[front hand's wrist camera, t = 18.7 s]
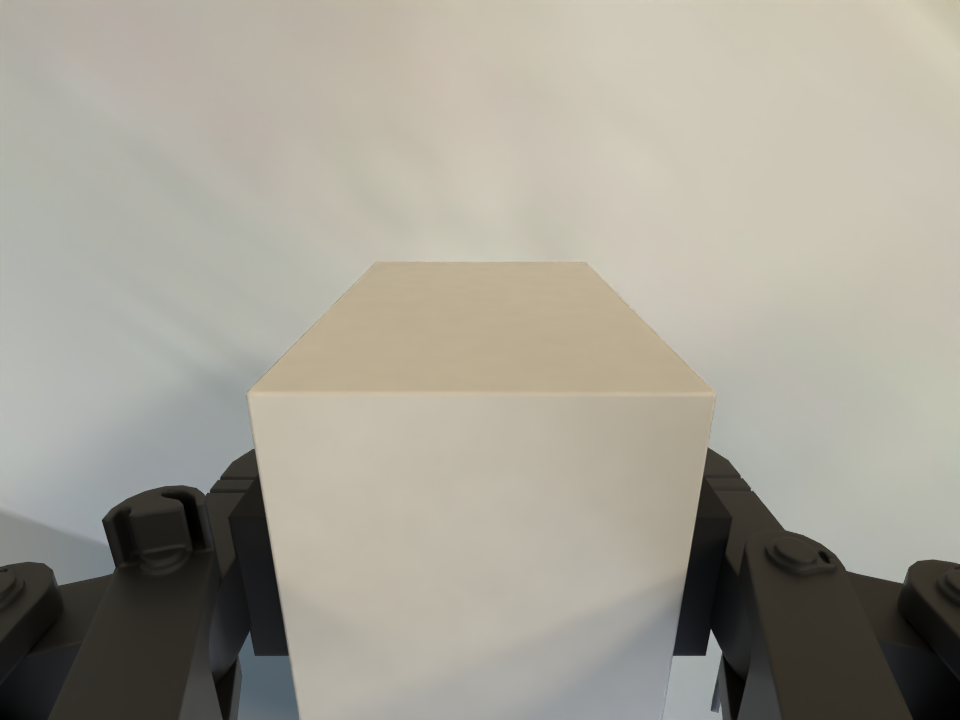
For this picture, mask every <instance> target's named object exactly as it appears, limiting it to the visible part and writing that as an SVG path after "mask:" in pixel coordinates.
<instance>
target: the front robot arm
mask: <svg viewBox="0 0 960 720" xmlns="http://www.w3.org/2000/svg"><path fill="white" fill-rule="evenodd" d="M102 522H103V526H104V529H105V533H106V536H107V539H108V543H109V546H110V550H111V553H112V556H113V560H114V563H115V567H116V568H115V570H114V573H113V574H110V575H106V576H103V577H98V578H93V579H89V580H84V581H79V582H74V583H70V584H65V585H61V586H58V584H57V582H56V579H55V576H54V573H53V570H52V569H51V568H49V567H48V566H47V565H45V564H43V563H34V562H24V563H17V564H11V565H6V566H2V567H0V720H237V717H238V708H239V699H240V690H241V682H242V673H241V666H240V661H239V656H238V654H239V652H240V650H241V648H242V645H243V643H244V641H245V639H246V637H247V635H248V633H249V631H250V633H251V638H252V643H253V648H254V653H255V656H289V653H288V646H287V640H286V634H285V628H284V622H283V616H282V610H281V604H280V598H279V592H278V586H277V580H276V574H275V568H274V562H273V556H272V550H271V544H270V537H269V531H268V525H267V519H266V513H265V507H264V501H263V495H262V489H261V483H260V477H259V471H258V465H257V459H256V453H255V449H252V450H251V451H249V452H248V453H246V454H244V455H243V456H241V457H240V458H238V459H237V460H235V461H233V462H232V463H231V465H230V466H229V467H228V468H227V470H226V471H225V472H224V473H223V475H222V476H221V477H220V480H218V481H217V482H216V483H215V484H214V486H213V487H212V488H211V489H210V493H207V494H206V496H205V495H204V494H203V493H202V492H201V491H199V490H198V489H197V488H193V487H188V486H183V485H181V486H165V487H161V488H156V489H152V490H148V491H145V492H142V493H140V494H137V495H135V496H133V497H130V498H128V499H126V500H125V501H123V502H121V503H120V504H118V505H117V506H115V507H114V508H112V509H111V510H110V511H109V512H108V514H107V515H106V516H105V517H104V518H103V519H102ZM710 630H712V632H713V634H714V636H715V638H716V640H717V642H718V644H719V646H720V648H721V650H722V656H721V661H720V666H719V670H718V675H717V680H716V685H715V689H714V694H713V699H712V706H711V711H713V712H717V713H718V711H719V707H720V702H721V707H722V716H723V720H960V564H957V563H953V562H946V561H940V560H924V561H917V562H916V563H914V564H913V565H912V566H910V567H909V569H908V572H907V574H906V577H905V580H904V583H903V584H902V583H897V582H892V581H888V580H883V579H878V578H874V577H869V576H864V575H860V574H856V573H852V572H848V571H846V569H845V567H844V566H843V564H842V563H841V562H840V560H839V559H838V558H837V556H836V555H835V554H834V553H832V552H831V551H830V550H828V549H827V548H826V547H824V546H823V545H822V544H820V543H818V542H816V541H814V540H812V539H810V538H808V537H806V536H804V535H800V534H797V533H793V532H789V531H786V530H784V528H783V527H782V526H781V525H780V523H779V522H778V521H777V520H776V519H775V517H774V516H773V515H772V514H771V512H770V511H769V510H768V509H767V507H766V506H765V505H764V504H763V503H762V501H761V500H760V499H759V498H758V496H757V495H756V494H755V493H754V491H751V488H750V487H749V485H748V484H747V483H746V482H745V480H744V479H743V478H741V477H740V474H739V473H738V472H737V471H736V469H735V468H734V467H733V466H732V464H731V463H730V462H729V461H728V460H727V459H725V458H724V457H722V456H721V455H719V454H717V453H716V452H714V451H713V450H711V449H710V448H707V454H706V460H705V466H704V472H703V478H702V484H701V490H700V496H699V502H698V508H697V514H696V520H695V526H694V532H693V538H692V544H691V550H690V556H689V562H688V568H687V574H686V580H685V586H684V592H683V598H682V603H681V609H680V615H679V621H678V627H677V633H676V639H675V645H674V651H673V656H705V655H706V650H707V645H708V640H709V635H710Z"/></svg>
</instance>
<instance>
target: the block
mask: <svg viewBox="0 0 960 720" xmlns="http://www.w3.org/2000/svg"><path fill="white" fill-rule="evenodd" d="M246 398H247V404H248V410H249V416H250V422H251V428H252V435H253V441H254V447H255V453H256V459H257V465H258V471H259V477H260V483H261V489H262V495H263V501H264V507H265V513H266V519H267V525H268V531H269V537H270V544H271V550H272V556H273V562H274V568H275V574H276V580H277V586H278V592H279V598H280V604H281V610H282V616H283V622H284V628H285V634H286V640H287V646H288V653H289V658H290V665H291V671H292V677H293V683H294V689H295V695H296V701H297V707H298V713H299V719H300V720H662V717H663V711H664V705H665V699H666V693H667V687H668V681H669V675H670V669H671V663H672V657H673V651H674V645H675V639H676V633H677V627H678V621H679V615H680V609H681V603H682V598H683V592H684V586H685V580H686V574H687V568H688V562H689V556H690V550H691V544H692V538H693V532H694V526H695V520H696V514H697V508H698V502H699V496H700V490H701V484H702V478H703V472H704V466H705V460H706V454H707V448H708V443H709V437H710V431H711V425H712V419H713V413H714V407H715V401H716V393H715V392H714V391H713V390H712V389H711V388H710V387H709V386H708V385H707V384H706V383H705V382H704V381H703V380H702V379H701V377H700V376H699V375H698V374H697V373H696V372H695V371H694V370H693V369H692V368H691V367H690V366H689V365H688V364H687V363H686V362H685V361H684V360H683V359H682V358H681V357H680V356H679V355H678V354H677V353H676V352H675V351H674V350H673V349H672V348H671V347H670V346H669V345H668V344H667V343H666V342H665V341H664V340H663V339H662V338H661V337H660V336H659V335H658V334H657V333H656V332H655V331H654V330H653V329H652V328H651V327H650V326H649V325H648V324H647V323H646V322H645V321H644V320H643V319H642V318H641V317H640V316H639V315H638V314H637V313H636V312H635V311H634V310H633V309H632V308H631V307H630V306H629V305H628V304H627V303H626V302H625V301H624V300H623V299H622V298H621V297H620V296H619V295H618V294H617V293H616V292H615V291H614V290H613V289H612V288H611V287H610V286H609V285H608V284H607V283H606V282H605V281H604V280H603V279H602V278H601V277H600V276H599V275H598V274H597V273H596V272H595V271H594V270H593V269H592V268H591V267H590V266H589V265H588V264H587V263H586V262H376V263H374V264H373V265H372V266H371V267H370V268H369V269H368V270H367V271H366V273H365V274H364V275H363V276H362V277H361V278H360V279H359V280H358V281H357V282H356V283H355V284H354V285H353V286H352V287H351V288H350V289H349V290H348V291H347V292H346V293H345V294H344V295H343V296H342V297H341V298H340V299H339V300H338V301H337V302H336V303H335V304H334V305H333V306H332V307H331V308H330V309H329V310H328V311H327V312H326V313H325V314H324V315H323V316H322V317H321V318H320V319H319V320H318V321H317V322H316V323H315V324H314V325H313V326H312V327H311V328H310V329H309V330H308V331H307V332H306V333H305V334H304V335H303V336H302V337H301V338H300V339H299V340H298V341H297V342H296V343H295V344H294V345H293V346H292V347H291V348H290V349H289V350H288V351H287V352H286V353H285V354H284V355H283V356H282V357H281V358H280V359H279V360H278V361H277V362H276V363H275V364H274V365H273V366H272V367H271V368H270V369H269V370H268V371H267V372H266V373H265V374H264V375H263V376H262V377H261V378H260V379H259V380H258V381H257V382H256V383H255V384H254V385H253V386H252V388H251V389H250V390H249V391H248V392H247V394H246Z"/></svg>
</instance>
